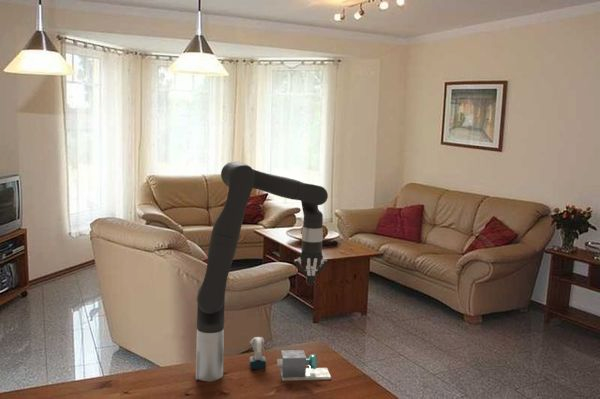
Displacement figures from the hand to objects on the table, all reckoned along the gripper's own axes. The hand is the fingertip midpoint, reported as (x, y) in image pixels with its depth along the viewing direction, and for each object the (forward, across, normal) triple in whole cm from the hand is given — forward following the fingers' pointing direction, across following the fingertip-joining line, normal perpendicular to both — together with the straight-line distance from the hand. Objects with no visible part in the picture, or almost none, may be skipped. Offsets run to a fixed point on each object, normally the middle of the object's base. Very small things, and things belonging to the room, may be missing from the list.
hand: (310, 284), depth 204 cm
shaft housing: (+29, -2, -14) cm, 32 cm away
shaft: (+26, -6, -14) cm, 30 cm away
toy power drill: (+29, -19, -6) cm, 35 cm away
